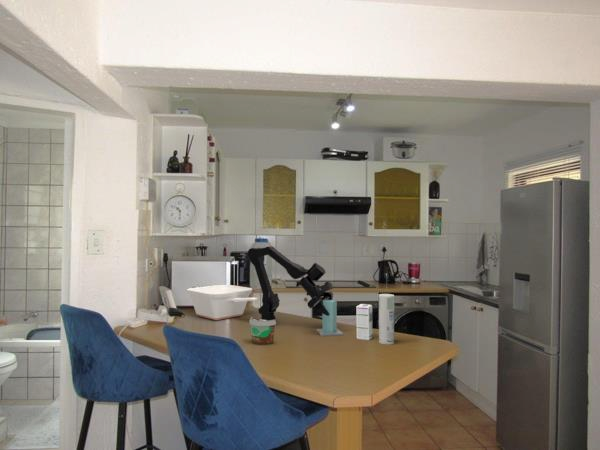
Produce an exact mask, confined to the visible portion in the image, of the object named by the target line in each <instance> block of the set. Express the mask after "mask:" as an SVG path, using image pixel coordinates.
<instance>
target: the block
mask: <svg viewBox="0 0 600 450" xmlns="http://www.w3.org/2000/svg"><path fill="white" fill-rule="evenodd" d="M337 301H338V300H336V299H332V300H324V301H323V305H324V306H325V308H326V309H327V311H328V312H329V314H330V315H329V316H327V315H325V314H323V313H321V314H322V316H321V317H322V318H321V319H322V324H321V327H322V328H321V329H322V332H328V333H333V332H335V331H337V327H338V326H337V325H338V324H337V323H338V322H337V319H338V318H337V316H338V315H337V312H338V308H337V307H338V303H337Z"/></svg>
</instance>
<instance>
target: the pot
mask: <svg viewBox="0 0 600 450" xmlns="http://www.w3.org/2000/svg"><path fill="white" fill-rule="evenodd" d="M186 291H187V294H189V297H190V299H191V302H192V305H193V308H194V312H195V314H196V315H197V316H199V317H202V318H206V319H209V320H214V321H221V320H226V319H232V318H236V317H241V316H242V315H243V314H244V313H245V310H246V306H247V303H248V302H257V301H258V297H250V295H251V293H252V292H253V288H251V287H247V286H246V287H245V286H239V285H234V284H233V285H232V284H216V285H215V284H214V285H209V286H208V285H207V286H206V285H205V286H197V287H190V288H187V289H186Z"/></svg>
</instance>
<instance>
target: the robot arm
mask: <svg viewBox="0 0 600 450" xmlns="http://www.w3.org/2000/svg"><path fill="white" fill-rule="evenodd" d="M246 254H247V256H246V257H248V260H249V262H250V263H251V264H252V265H253V267H254V270H255V273H256V276H257V279H258V284H259V286H260V289H261V293H262V297H261V303H262V305H261V306H260V307H259V308H258V311H257V312H258V314H260V319H265V320H268V321H269V320H275V321H276V315H275V312H277V309H278V308H279V306H280V302H281V300H280V299H279V295H278V293H277V292H276V293H275V292H274V291H273V290H272V286H271V283H270V279H269V277H268V273H267V270H266V267H265V256H269V257H270V258H271V259H273V260H274V261H275V262H276V263H278V265H281V267H283V268H284V270H286V272H287V274H288V275H289V276H290V278H292V279H293V280H296V285H295V287H297V288H299V287H301V288H302V289H303V290H304V291H305V292H306V295H307V296H309V297H310V298H311V299H310V300H308V302H307V307H308V308H309V309H311V310H314V311H317V312H318V313H321V314H322V313H323V314H325V315H327V316H329V315H330V314H329V312H328V311H327V309H326V308H325V306H324V305H323V301H324V300H334V299H333V297H334V293H333V292H332V290H333V289H334V288H333V284H332V282H330V281H326V282H324V284H323V285H320V284H316V283H315V282H318V281H319V280H320V279H321V278H323V276H325V274H326V269H324V267H323V266H321V265H320V264H318V263H317V262H314V263H313V264H312V265H311V267H309V269H306V268H305V267H304V266H303V265H301V264H298V263H296V262H293V261H291V260H290V259H289V258H287V257H286V256H285V255H284V254H282V253H281V252H280V251H278V249H276V248H275V246H266V247H262V248H261V247H251V248H249V249H248V251H247V253H246ZM298 279H300V280H298ZM330 290H331V291H330Z"/></svg>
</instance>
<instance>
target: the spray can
mask: <svg viewBox="0 0 600 450" xmlns="http://www.w3.org/2000/svg"><path fill="white" fill-rule="evenodd" d="M378 343H379V344H381V345H392V344H394V343H395V295H394V294H391V293H380V294H378Z"/></svg>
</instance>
